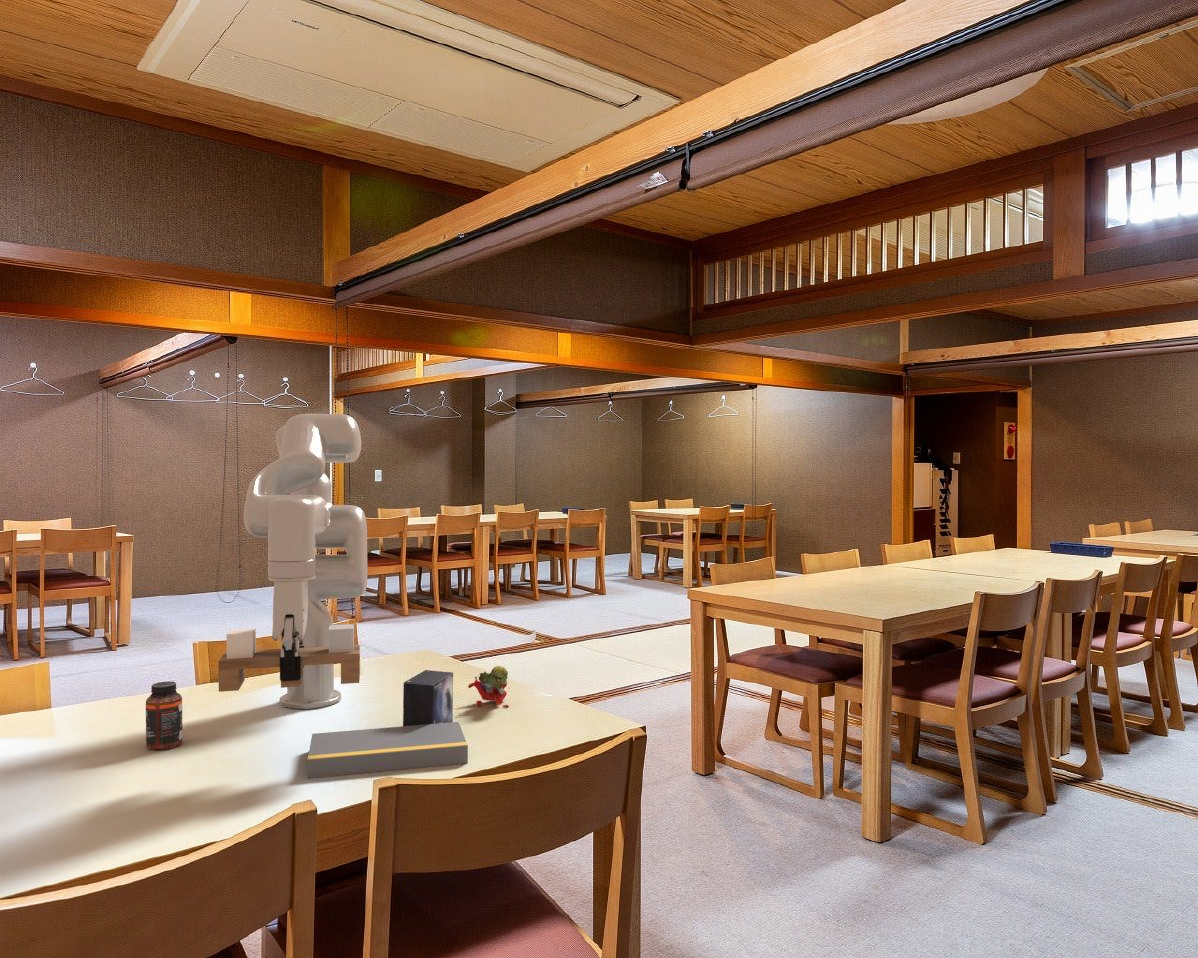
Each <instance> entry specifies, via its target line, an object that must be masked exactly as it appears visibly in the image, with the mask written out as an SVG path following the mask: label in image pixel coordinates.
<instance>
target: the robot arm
mask: <svg viewBox="0 0 1198 958" xmlns="http://www.w3.org/2000/svg"><path fill="white" fill-rule="evenodd" d="M361 435H362V434H361V432H360V427H359V425H358V423H357V421H356V419H354V418H353V417H352V416H350V415H348V414H343V413H300V414H296V415H293V416H292V417H290V418H289V419H288V420H287V421H286V422H285V424H284V425H283V426H281V427H279V428H278V430H277V431H276V435H275V441H276V442H275V443H276V448H277V452H278V455H279V458H277V460H274V461H272V462H271V463H269V464H268V465H266V466H265V467H264V468H262V469H261V470H260V471H259V472H258V473H256V474H255V475H254V477H252V480H251V481H250V483H249V486H248V488H247V492H246V498H245V503H244V508H243V523H244V527H245V529H246V531H247V532H248V533H249V534H250V535H252V536H253V537H256V538H267V560H268V561H267V566H268V567H267V568H268V569H267V576H268V577H267V579H268V581H269V582H274V584H273V585H274V586H273V595H272V596H273V599H272V600H273V601H272V603H273V604H272V606H273V607H272V632H271V633H272V637H271V638H272V640H273V641H275V642H276V641H278V639H280V638H281V639H280V643H281V644H280V649H281V657H280V667H279V680H280V682H281V681H296V680H300V678H301V656H299V648H307V647H326V646H329V626H330V625H334V618H333V616H332V615H333V614H331V612H330V611H329V610H328V608H327V607H326V606H325V605H324V603H322V602H321V601H322V600H331V599H335V600H336V599H337V600H338V599H354V598H359V597H362V596H363V595H364V594H365V592H366V590H367V586H368V528H367V526H368V525H367V518H366V514H365V512H364V510H363V509H362V508H361V507H359V506H357V505H351V504H333V503H332V482H331V480H330V478H329V477H328V476H327V474H326V473H325V471H326V463H329V464H331V463H332V464H334V463H336V464H343V463H344V464H345V463H347V464H348V463H354V462H356V461H358V459H359V457H360V455H361V450H362V436H361ZM317 549H319V550H321V549H323V550H324V549H326V550H327V549H328V550H329V549H342V550H344V551H345V552H346V554H316V550H317ZM334 666H335V665H334V664H321V665H304V666H303V679H302V682H301V685H300V687H286V688H287V690H286V691H287V692H286V693H285V694H283V695H281V696H280V697H279V705H280V704H281V705H282V706H281V705H280V706H281V707H283V706H284V708H286V707H288V708H287V709H293V708H294V710H299V709H300V710H303V709H304V710H308V709H318V708H323V707H327V706H331V705H335V704H336V703H338V702H339V701H340V700H341V699H342V693H341V691H339V690H336V689H335V688H334V684H335V683H334V680H335V679H334V678H335V677H334V676H335V675H334V672H335V668H334Z"/></svg>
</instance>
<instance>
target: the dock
mask: <svg viewBox="0 0 1198 958" xmlns="http://www.w3.org/2000/svg"><path fill="white" fill-rule="evenodd" d="M468 749H469V745H468V743H467V740H466V738H465V735H464V733H463V730H462V727H461V724H460V722H459V721H453V722H450V723H438V724H425V725H413V726H403V725H402V726H392V727H390V726H389V727H380V728H367V729H366V728H365V729H353V730H342V731H341V730H338V731H329V732H317V733H311V737H310V745H309V750H308V756H307V779H313V778H315V779H317V778H325V777H334V776H346V775H356V774H370V773H376V772H377V773H378V771H380V772H389V771H397V770H398V771H399V770H408V769H409V770H410V769H420V768H422V769H423V768H431V767H440V766H451V765H463V764H468V763H469V762H468V761H469V755H468V754H469V750H468Z"/></svg>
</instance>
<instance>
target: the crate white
mask: <svg viewBox="0 0 1198 958" xmlns="http://www.w3.org/2000/svg"><path fill="white" fill-rule="evenodd" d="M256 650H257V629H256V628H243V629H229V631H227V633H226V652H227V659H231V658H250V657H253V656H254V654H255V653H256Z"/></svg>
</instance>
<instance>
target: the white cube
mask: <svg viewBox="0 0 1198 958" xmlns="http://www.w3.org/2000/svg"><path fill="white" fill-rule="evenodd" d="M354 625H355V624H354V623H351V624H350V623H349V624H348V623H347V624H333V625H330V626H329V653H342V652H353V650H354V645H355V643H354V642H355V640H354V637H355V631H354V629H355V628H354V627H355V626H354Z"/></svg>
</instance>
